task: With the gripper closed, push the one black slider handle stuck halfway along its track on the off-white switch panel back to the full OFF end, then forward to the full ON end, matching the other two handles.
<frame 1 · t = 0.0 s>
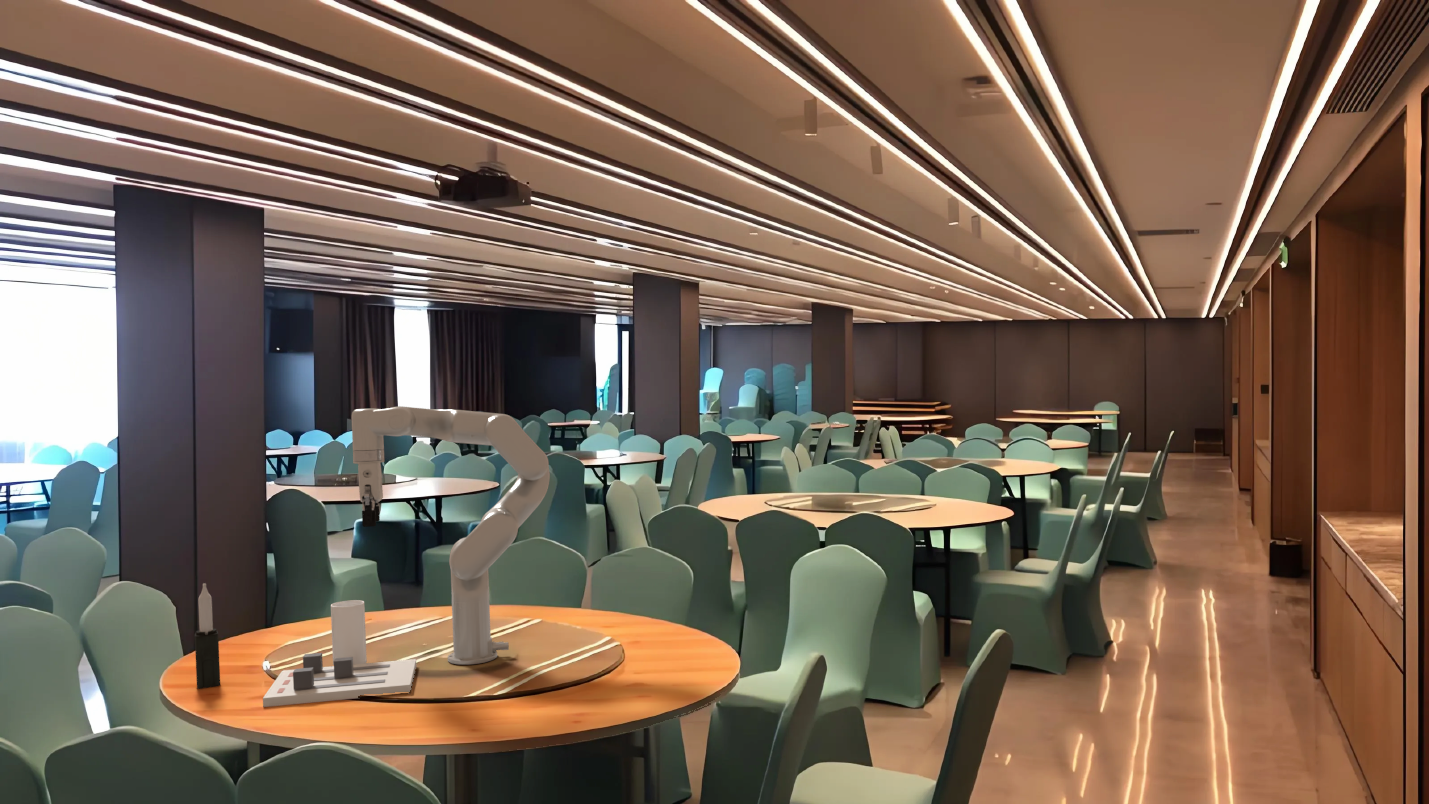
hand: (371, 523, 267), 37 cm above the table, tool pointing down, fingers open, 9 cm apart
cup: (350, 665, 271), on the table
black and grey marker: (208, 685, 256), on the table
switch panel: (344, 685, 252), on the table
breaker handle: (343, 667, 252), point 4 cm above the table, slide at 0.0 cm
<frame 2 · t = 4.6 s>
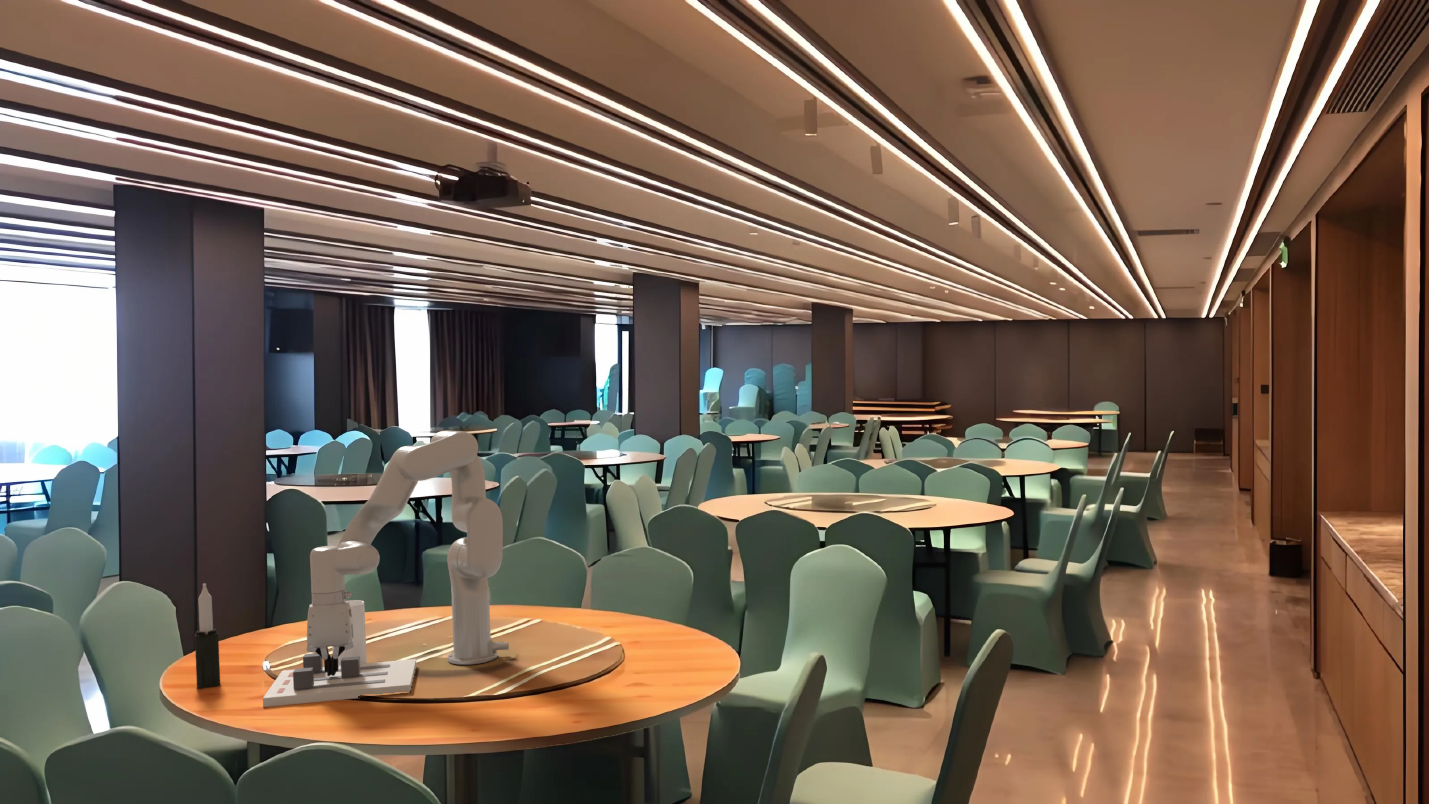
hand: (331, 674, 251), 3 cm above the table, tool pointing down, fingers closed
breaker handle: (350, 666, 252), point 4 cm above the table, slide at -1.6 cm, touching gripper
everything else where it was.
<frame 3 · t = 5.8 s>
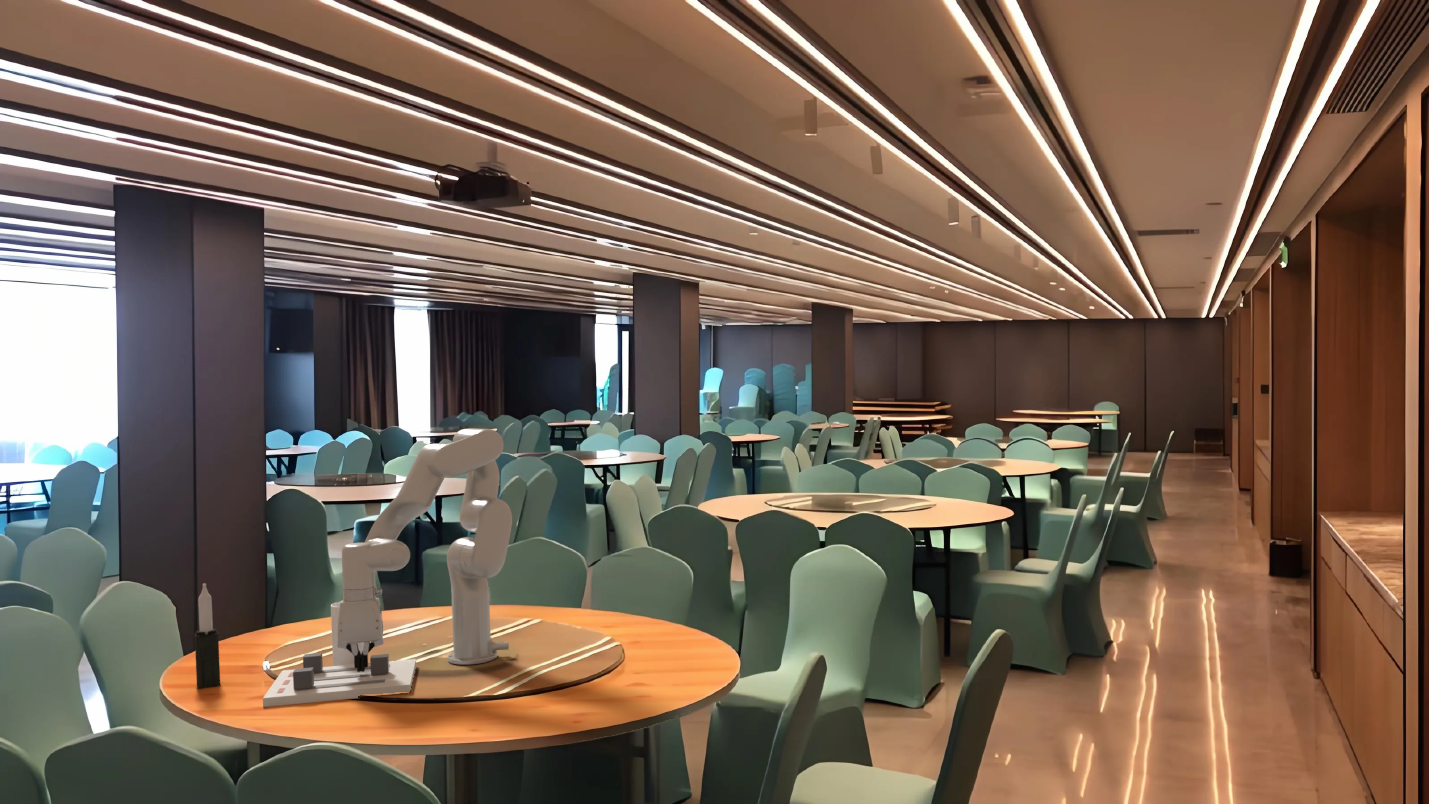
hand: (361, 670, 252), 3 cm above the table, tool pointing down, fingers closed
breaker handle: (379, 664, 254), point 4 cm above the table, slide at -8.3 cm, touching gripper
everything else where it was.
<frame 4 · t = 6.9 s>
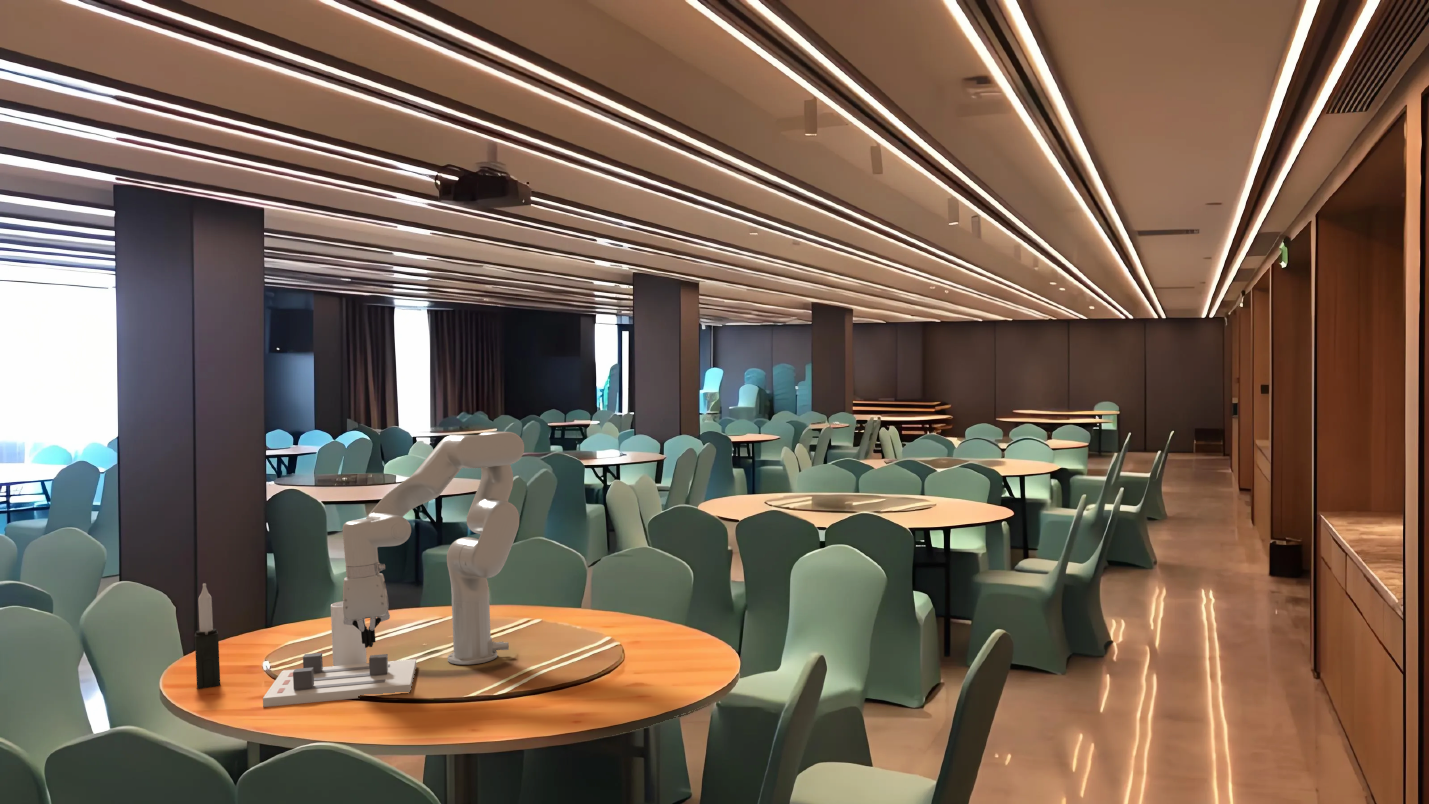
hand: (369, 645, 254), 9 cm above the table, tool pointing down, fingers closed
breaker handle: (378, 664, 253), point 4 cm above the table, slide at -8.1 cm
everything else where it was.
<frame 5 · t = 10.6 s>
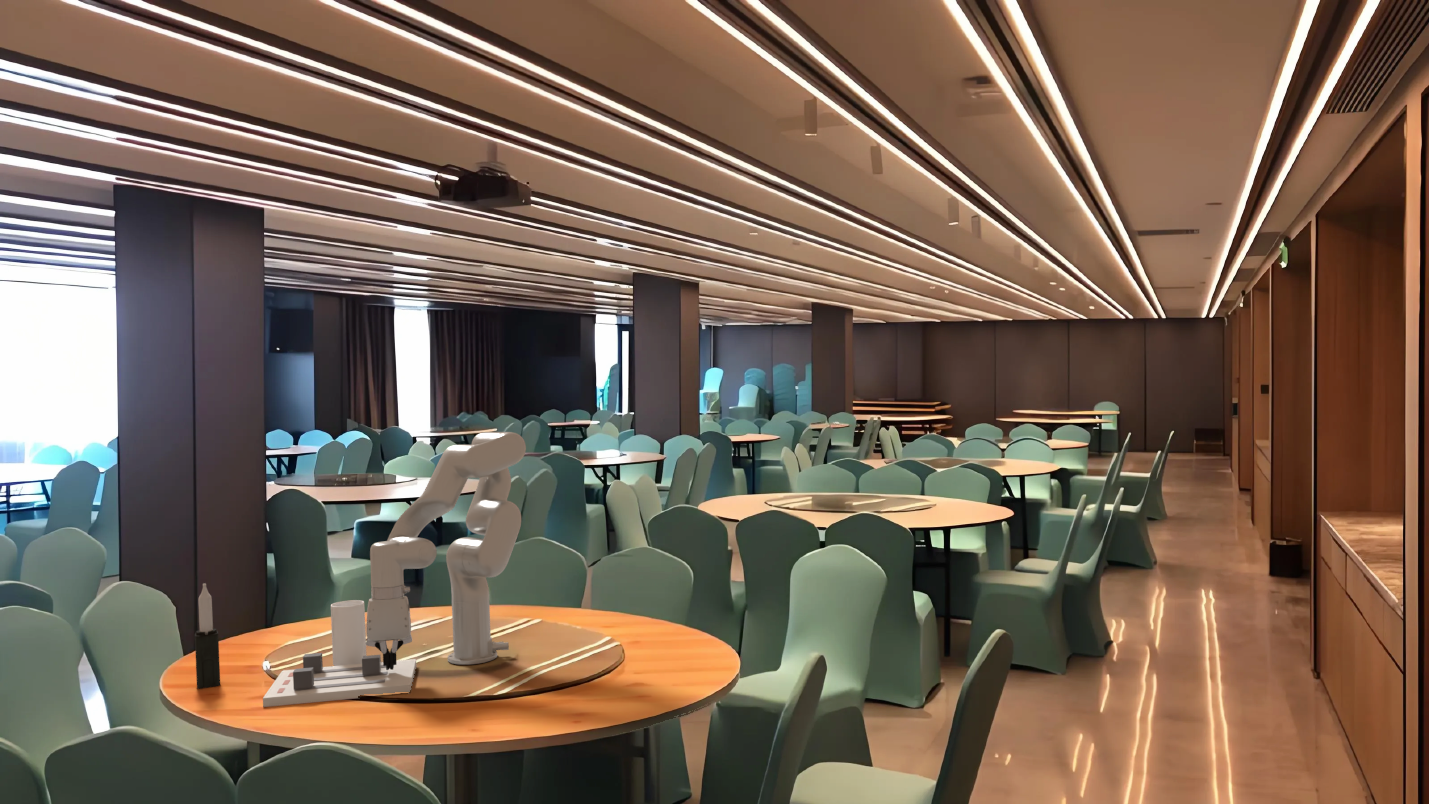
hand: (390, 668, 254), 3 cm above the table, tool pointing down, fingers closed
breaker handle: (371, 665, 253), point 4 cm above the table, slide at -6.4 cm, touching gripper
everything else where it was.
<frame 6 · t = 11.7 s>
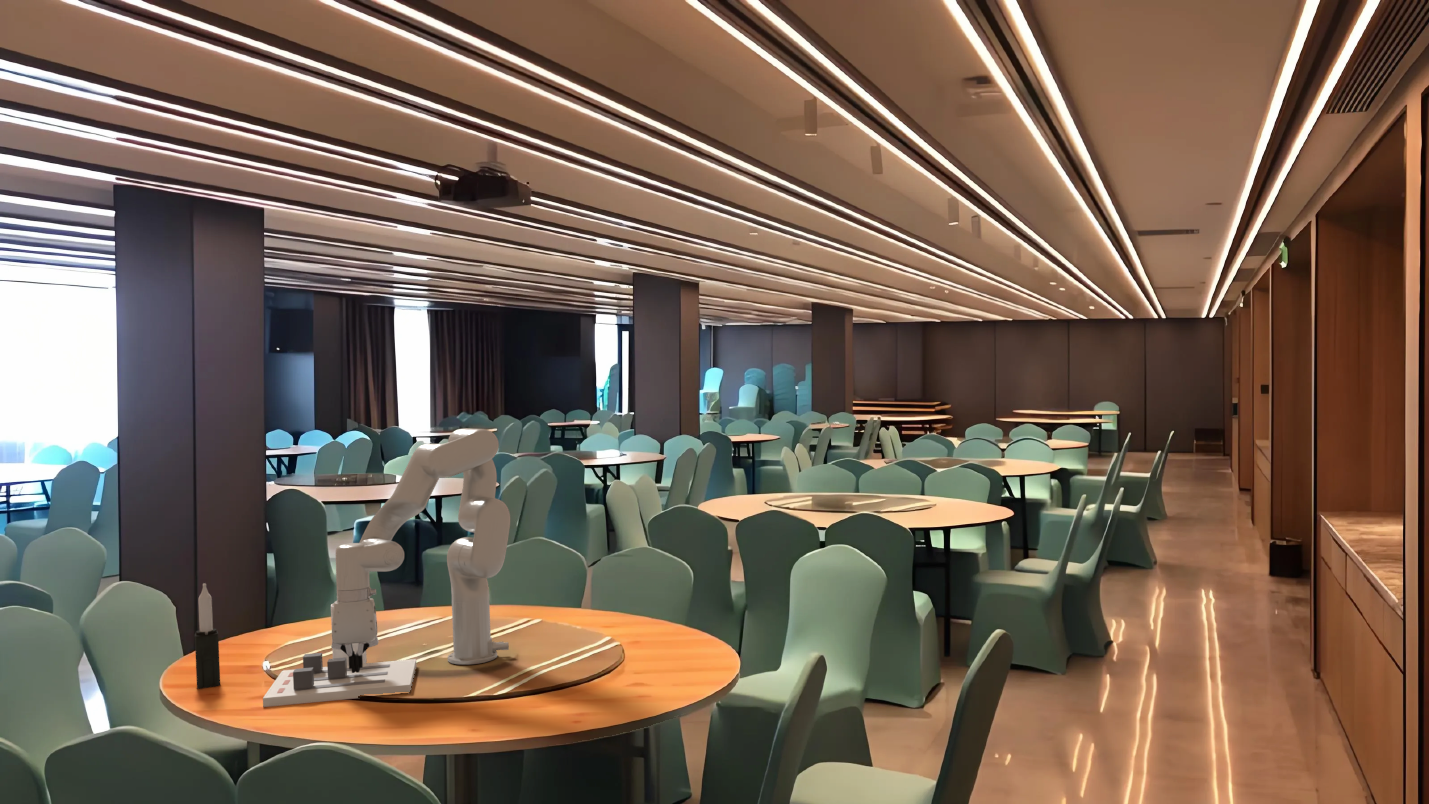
hand: (356, 671, 252), 3 cm above the table, tool pointing down, fingers closed
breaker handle: (337, 668, 251), point 4 cm above the table, slide at 1.5 cm, touching gripper
everything else where it was.
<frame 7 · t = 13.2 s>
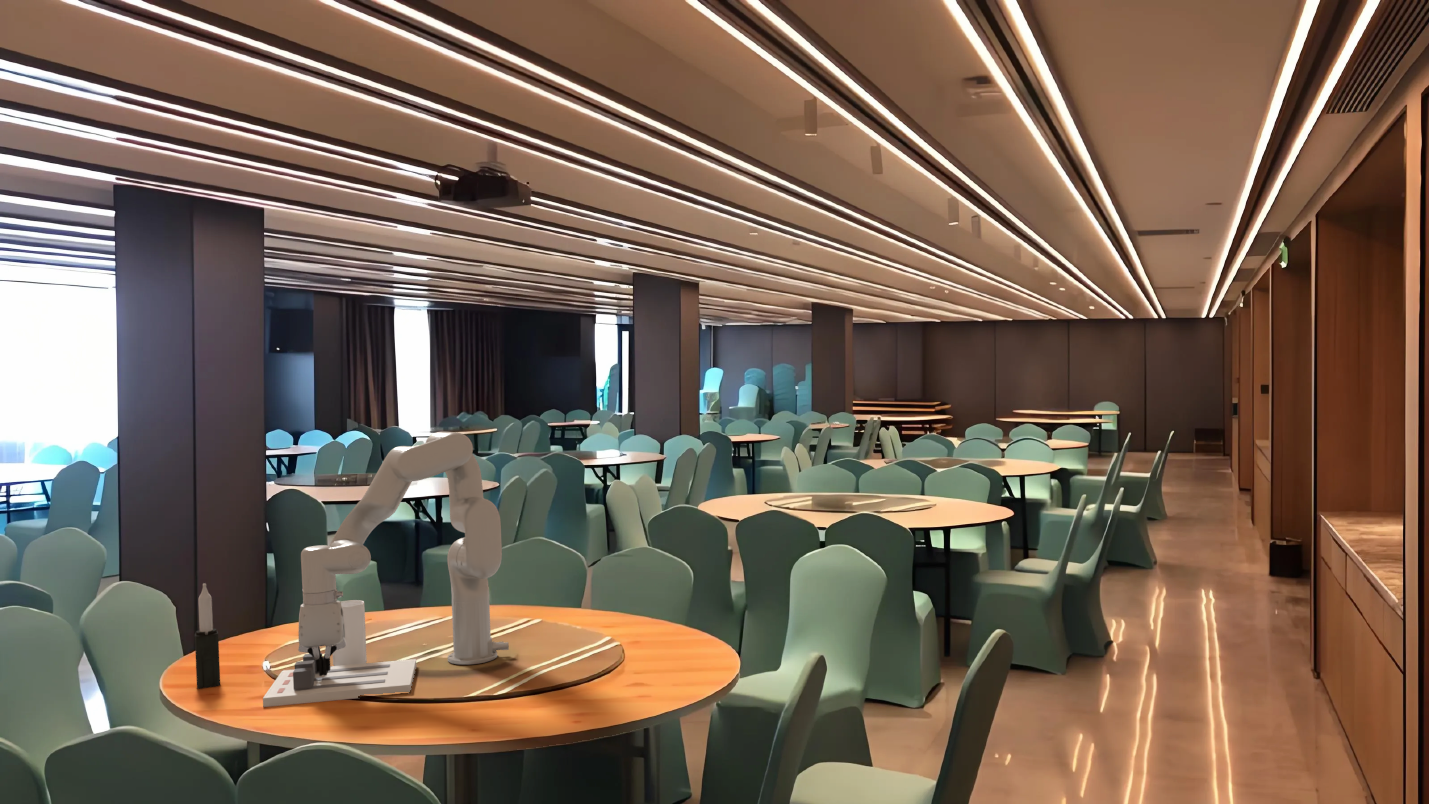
hand: (323, 674, 251), 3 cm above the table, tool pointing down, fingers closed
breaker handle: (304, 670, 250), point 4 cm above the table, slide at 8.8 cm, touching gripper
everything else where it was.
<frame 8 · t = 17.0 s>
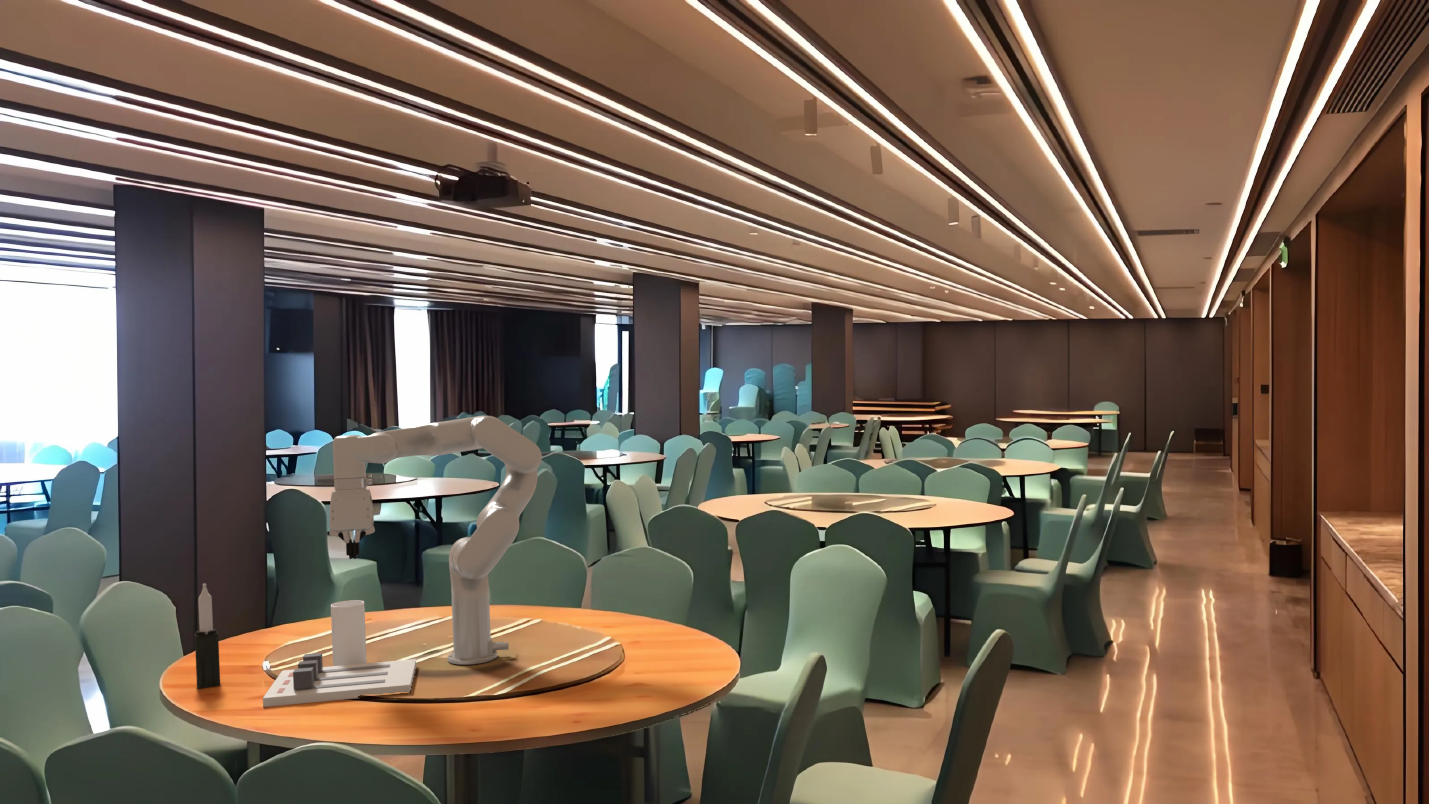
hand: (353, 557, 261), 29 cm above the table, tool pointing down, fingers closed
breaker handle: (308, 670, 250), point 4 cm above the table, slide at 8.1 cm
everything else where it was.
at the end: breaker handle slide at 8.1 cm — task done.
